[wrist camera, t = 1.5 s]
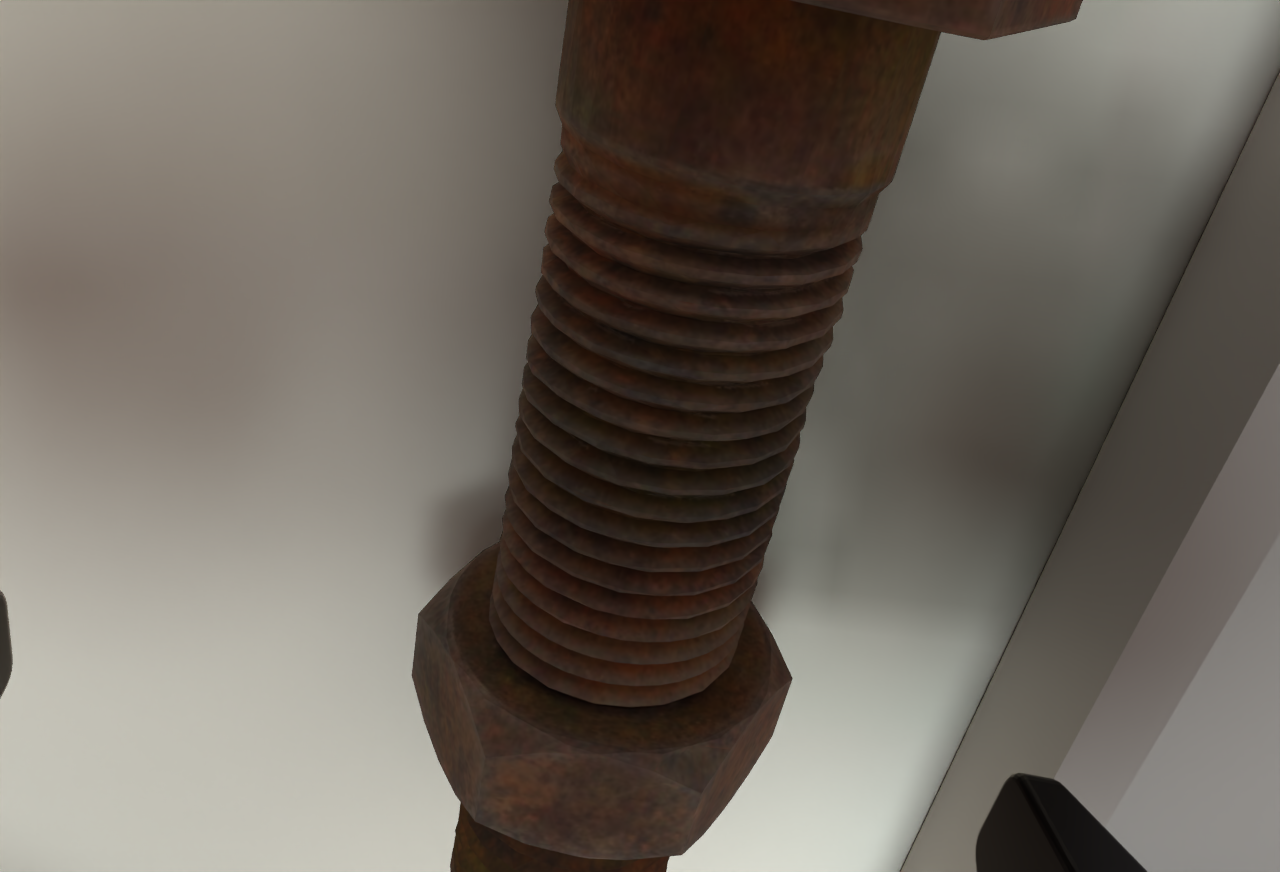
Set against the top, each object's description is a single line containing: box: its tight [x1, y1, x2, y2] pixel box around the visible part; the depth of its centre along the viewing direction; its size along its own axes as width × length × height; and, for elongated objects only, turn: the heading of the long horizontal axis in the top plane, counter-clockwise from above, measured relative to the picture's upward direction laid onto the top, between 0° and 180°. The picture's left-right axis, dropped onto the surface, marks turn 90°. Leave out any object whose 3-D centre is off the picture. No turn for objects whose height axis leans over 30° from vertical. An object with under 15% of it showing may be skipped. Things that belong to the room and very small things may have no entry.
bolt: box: [412, 0, 1083, 872], centre depth 13 cm, size 6×5×15 cm
